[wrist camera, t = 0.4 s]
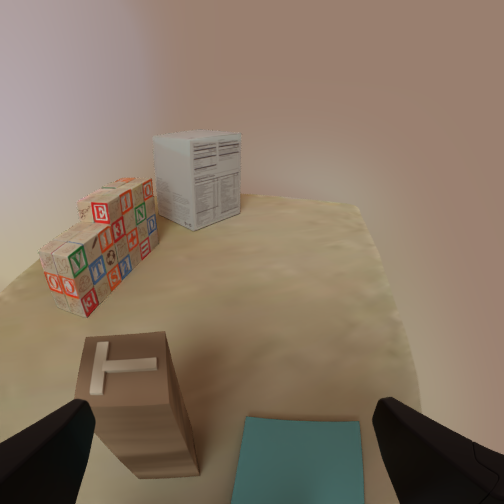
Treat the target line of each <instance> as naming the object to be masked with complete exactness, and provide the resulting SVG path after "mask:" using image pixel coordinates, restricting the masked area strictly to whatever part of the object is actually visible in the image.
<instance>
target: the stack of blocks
mask: <svg viewBox="0 0 504 504" xmlns="http://www.w3.org/2000/svg"><path fill="white" fill-rule="evenodd" d="M76 204H77V210H78V215H79V221H80V222H78V223H77V224H75V225H74V226H72V227H71V228H69V229H68V230H66V231H64V232H63V233H61V234H60V235H58V236H57V237H56V238H54V239H53V240H52V241H50V242H49V243H47V244H46V245H44V246H43V247H42V248H40V249H39V250H38V253H39V256H40V260H41V263H42V266H43V269H44V274H45V277H46V280H47V282H48V285H49V288H50V290H51V293H52V295H53V298H54V300H55V302H56V305H57V307H58V308H61V309H63V310H66V311H69V312H72V313H74V314H77V315H79V316H82V317H86V318H87V317H88V316H89V315H90V314H91V312H92V311H93V310H94V309H95V308H96V307H97V306H98V304H100V303H101V302H102V301H103V300H104V299H105V298H106V297H107V296H108V295H109V294H110V292H111V291H113V290H114V289H115V288H116V286H117V285H119V283H120V282H121V281H122V280H123V279H124V278H125V277H126V276H127V275H128V274H129V273H130V272H131V271H132V269H134V268H135V266H136V265H137V264H138V263H139V262H140V261H141V260H143V259H144V258H145V257H146V256H147V255H148V254H149V253H150V252H151V251H152V250H153V249H154V248H155V247H156V246H157V245H158V244H159V240H158V232H157V225H156V216H155V203H154V196H153V187H152V179H151V178H122V179H119V180H117V181H115V182H111V183H109V184H107V185H105V186H103V187H102V188H101V189H98V190H96V191H94V192H93V193H91V194H89V195H87V196H86V197H84V198H82V199H80V200H78V201H77V202H76Z"/></svg>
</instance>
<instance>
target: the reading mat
mask: <svg viewBox="0 0 504 504" xmlns="http://www.w3.org/2000/svg"><path fill="white" fill-rule="evenodd" d="M231 504H364V479H363V462H362V448H361V436H360V425H359V421H351V422H317V421H292V420H277V419H265V418H255V417H246V421H245V427H244V432H243V438H242V444H241V450H240V456H239V461H238V467H237V473H236V478H235V484H234V489H233V495H232V500H231Z"/></svg>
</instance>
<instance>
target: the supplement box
mask: <svg viewBox="0 0 504 504" xmlns="http://www.w3.org/2000/svg"><path fill="white" fill-rule="evenodd" d="M153 152H154V166H155V178H156V191H157V201H158V212H159V215H161V216H163V217H165V218H167V219H170V220H172V221H174V222H176V223H178V224H180V225H182V226H184V227H186V228H188V229H190V230H192V231H195V230H198V229H200V228H203V227H205V226H208V225H211V224H213V223H216V222H218V221H221V220H223V219H226V218H229V217H231V216H234V215H237V214H239V213H240V172H241V171H240V170H241V166H240V165H241V133H236V132H225V131H213V130H202V129H200V130H191V131H183V132H176V133H169V134H163V135H157V136H153Z"/></svg>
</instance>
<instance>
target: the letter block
mask: <svg viewBox="0 0 504 504" xmlns="http://www.w3.org/2000/svg"><path fill="white" fill-rule="evenodd" d="M77 398H78V399H83V400H86V401H88V402H89V404H90V407H91V409H92V412H93V414H94V416H95V420H96V425H95V430H94V433H95V434H96V435H97V436H98V437H99V438H100V440H101V441H102V442H103V443H104V444H105V445H106V446H107V447H108V448H109V449H110V451H111V452H112V453H113V454H114V455H115V456H116V457H117V458H118V459H119V460H120V461H121V462H122V463H123V464H124V465H125V466H126V467H127V468H128V469H129V470H130V471H131V472H132V473H133V474H134V475H135V476H136V477H138V478H139V479H159V478H177V477H190V476H200V474H199V469H198V463H197V458H196V453H195V447H194V441H193V435H192V429H191V424H190V421H189V418H188V415H187V411H186V408H185V405H184V402H183V398H182V395H181V391H180V388H179V384H178V381H177V377H176V373H175V370H174V366H173V362H172V358H171V354H170V350H169V346H168V342H167V338H166V333H165V331H162V332H152V333H140V334H127V335H113V336H96V337H86V339H85V344H84V348H83V353H82V358H81V363H80V368H79V373H78V378H77V384H76V390H75V397H74V399H77Z"/></svg>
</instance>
